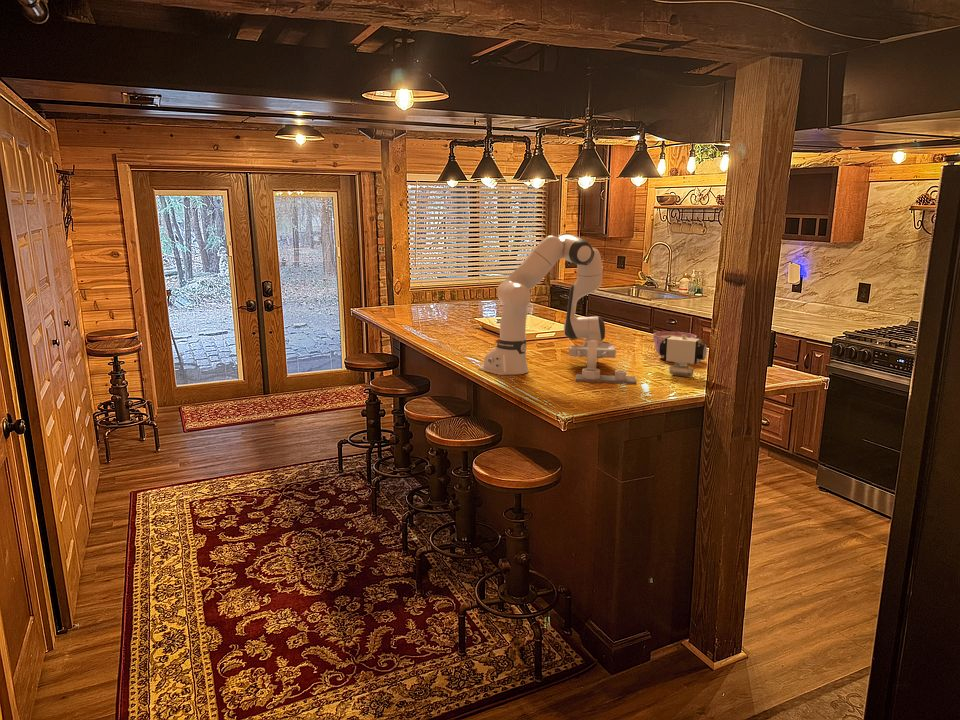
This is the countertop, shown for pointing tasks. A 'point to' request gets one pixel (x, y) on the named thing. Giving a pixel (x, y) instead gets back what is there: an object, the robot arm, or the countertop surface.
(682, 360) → the ball valve
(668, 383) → the countertop surface
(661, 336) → the clear bowl
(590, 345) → the pvc pipe
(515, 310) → the robot arm
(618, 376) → the plate
